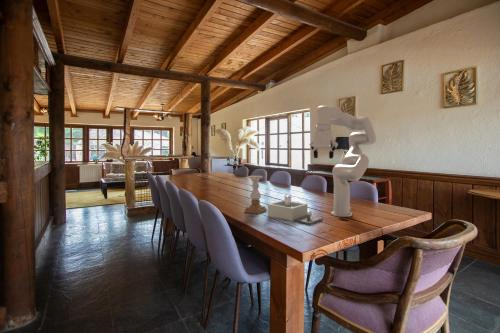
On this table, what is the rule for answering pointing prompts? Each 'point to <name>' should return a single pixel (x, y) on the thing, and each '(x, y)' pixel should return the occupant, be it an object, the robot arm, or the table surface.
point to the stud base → (308, 219)
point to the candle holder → (255, 197)
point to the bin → (287, 211)
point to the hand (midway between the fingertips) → (323, 158)
